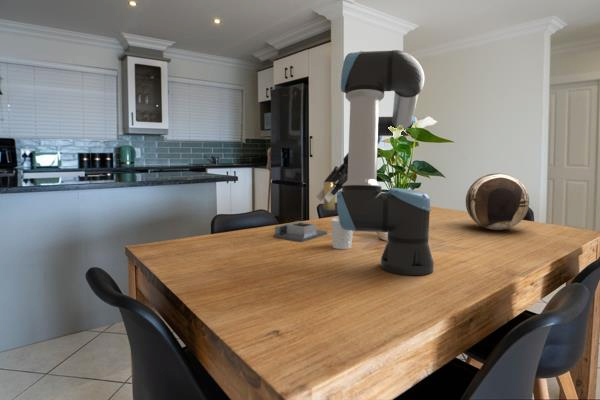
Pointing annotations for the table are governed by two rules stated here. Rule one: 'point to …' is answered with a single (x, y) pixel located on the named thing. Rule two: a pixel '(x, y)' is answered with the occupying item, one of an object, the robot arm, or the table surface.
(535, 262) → the table surface
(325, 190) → the bushing
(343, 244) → the white cup
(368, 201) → the robot arm
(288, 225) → the jig
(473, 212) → the sphere
